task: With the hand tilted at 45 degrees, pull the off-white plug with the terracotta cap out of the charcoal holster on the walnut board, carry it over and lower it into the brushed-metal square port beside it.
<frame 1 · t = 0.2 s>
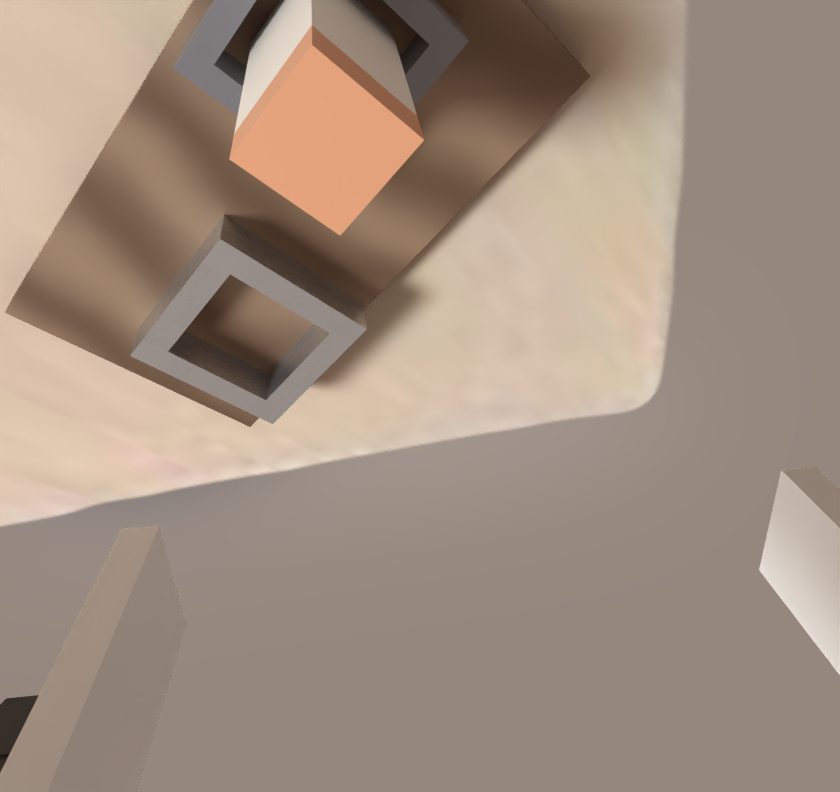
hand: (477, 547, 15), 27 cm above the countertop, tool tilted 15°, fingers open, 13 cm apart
port: (253, 301, 42), resting on walnut board
holster: (321, 27, 32), resting on walnut board
plug: (321, 36, 31), point 1 cm above the countertop, touching walnut board
walnut board: (277, 189, 37), on the countertop
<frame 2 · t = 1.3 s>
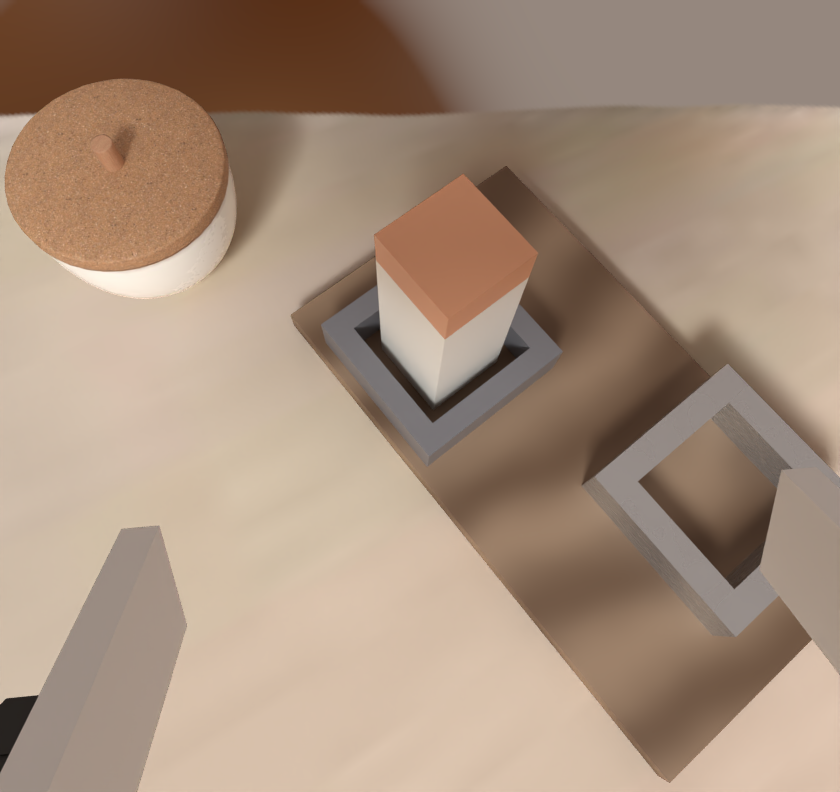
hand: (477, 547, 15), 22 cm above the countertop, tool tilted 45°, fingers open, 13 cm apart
port: (697, 504, 37), resting on walnut board
lidded jar: (166, 247, 41), on the countertop
holster: (437, 364, 39), resting on walnut board
plug: (439, 355, 38), point 1 cm above the countertop, touching walnut board
walnut board: (570, 439, 38), on the countertop
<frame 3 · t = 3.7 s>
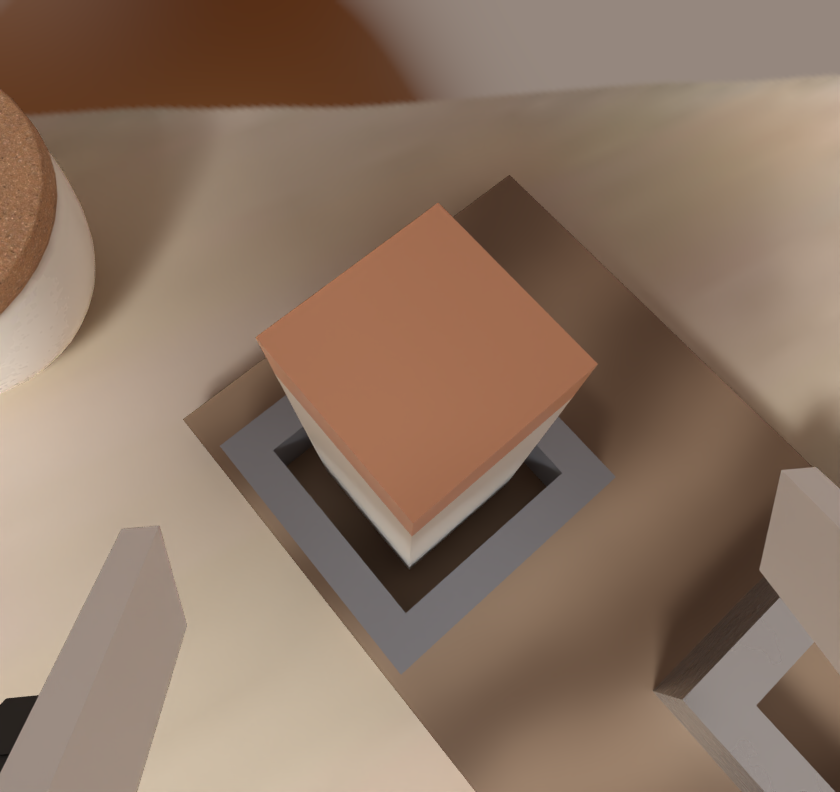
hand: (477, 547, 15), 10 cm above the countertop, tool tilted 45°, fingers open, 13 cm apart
port: (833, 702, 24), resting on walnut board
lidded jar: (5, 313, 28), on the countertop
holster: (415, 484, 26), resting on walnut board
plug: (416, 476, 24), point 1 cm above the countertop, touching walnut board
walnut board: (626, 600, 24), on the countertop
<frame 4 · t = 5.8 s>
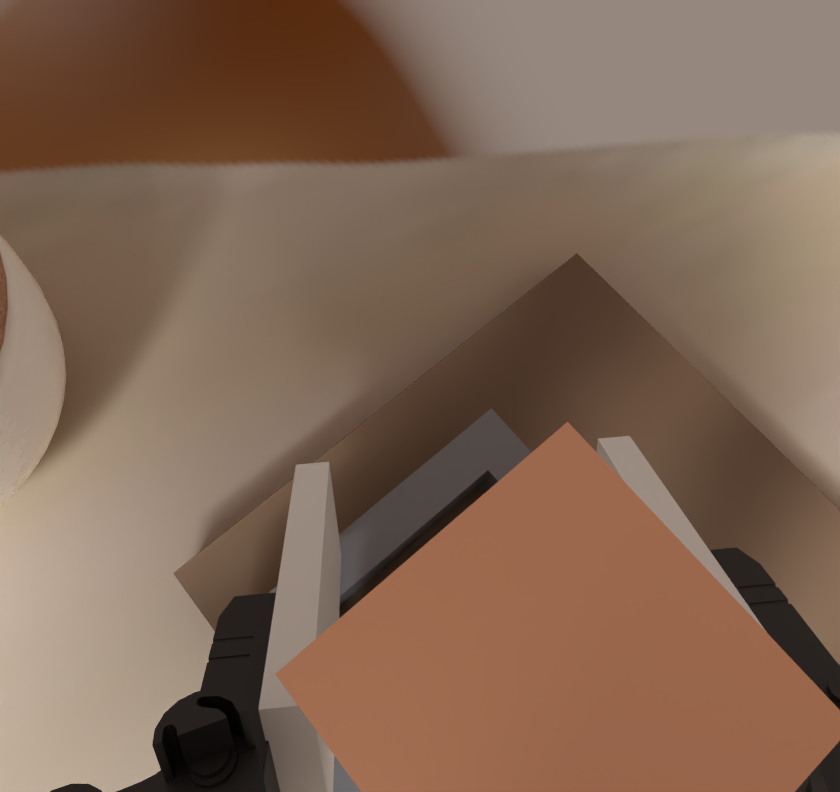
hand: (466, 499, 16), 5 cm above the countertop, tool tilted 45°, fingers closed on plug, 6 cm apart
holster: (464, 650, 20), resting on walnut board
plug: (469, 652, 19), point 2 cm above the countertop, touching gripper, walnut board
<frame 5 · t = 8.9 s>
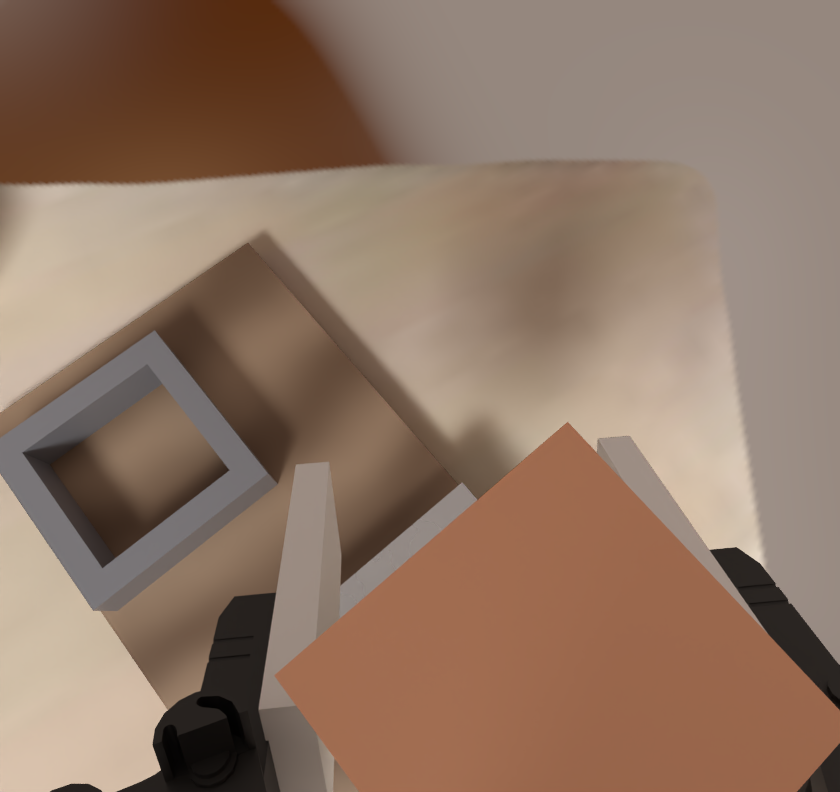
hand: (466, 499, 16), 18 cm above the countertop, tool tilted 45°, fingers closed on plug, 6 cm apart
port: (446, 640, 32), resting on walnut board
holster: (156, 479, 34), resting on walnut board
plug: (469, 653, 19), point 14 cm above the countertop, touching gripper
walnut board: (303, 565, 33), on the countertop
when the fingers open (6 cm above the countertop, at t = 11.9 s): plug stays where it is, resting on walnut board.
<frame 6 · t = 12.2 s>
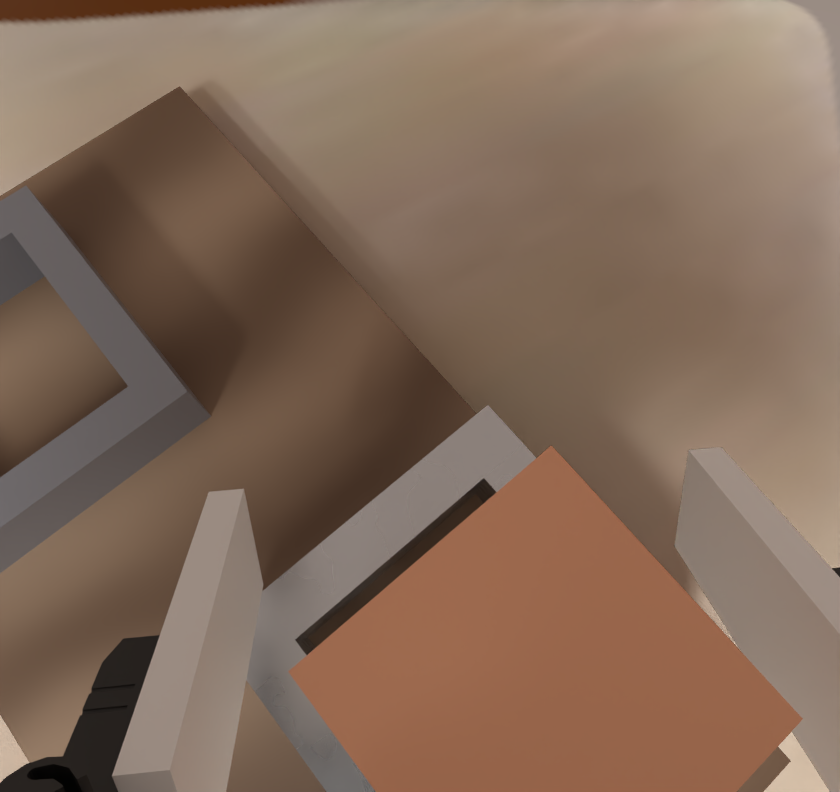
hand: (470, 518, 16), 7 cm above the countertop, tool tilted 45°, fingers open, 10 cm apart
port: (462, 649, 21), resting on walnut board
holster: (39, 413, 23), resting on walnut board
plug: (465, 653, 20), point 1 cm above the countertop, touching walnut board
walnut board: (250, 537, 22), on the countertop
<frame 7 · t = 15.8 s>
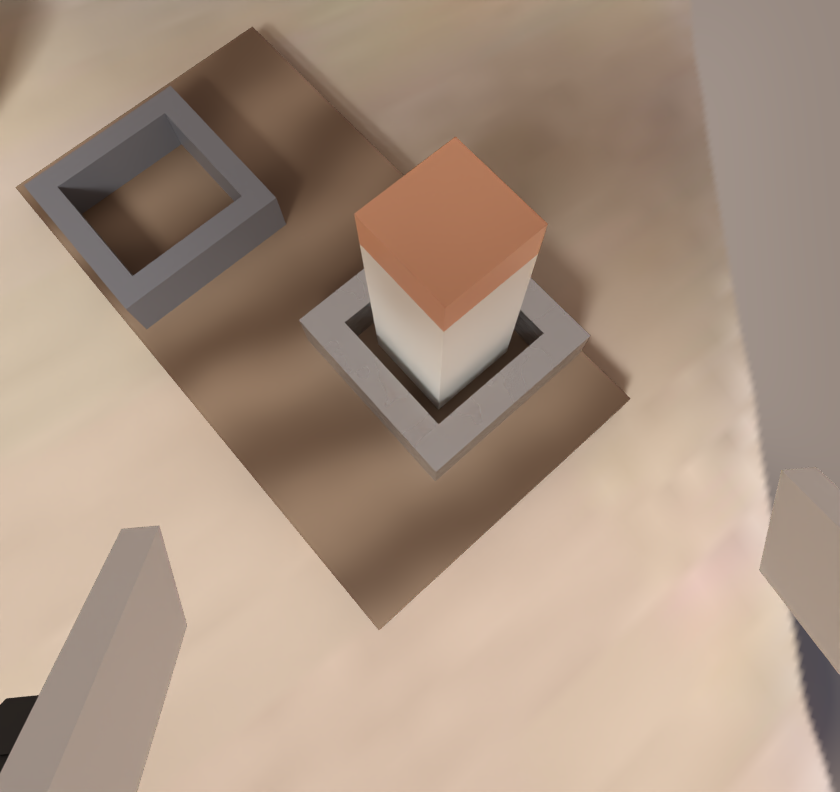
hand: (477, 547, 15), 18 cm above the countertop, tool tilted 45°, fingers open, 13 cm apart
port: (441, 357, 36), resting on walnut board
holster: (177, 233, 38), resting on walnut board
plug: (442, 347, 34), point 1 cm above the countertop, touching walnut board
walnut board: (311, 299, 36), on the countertop
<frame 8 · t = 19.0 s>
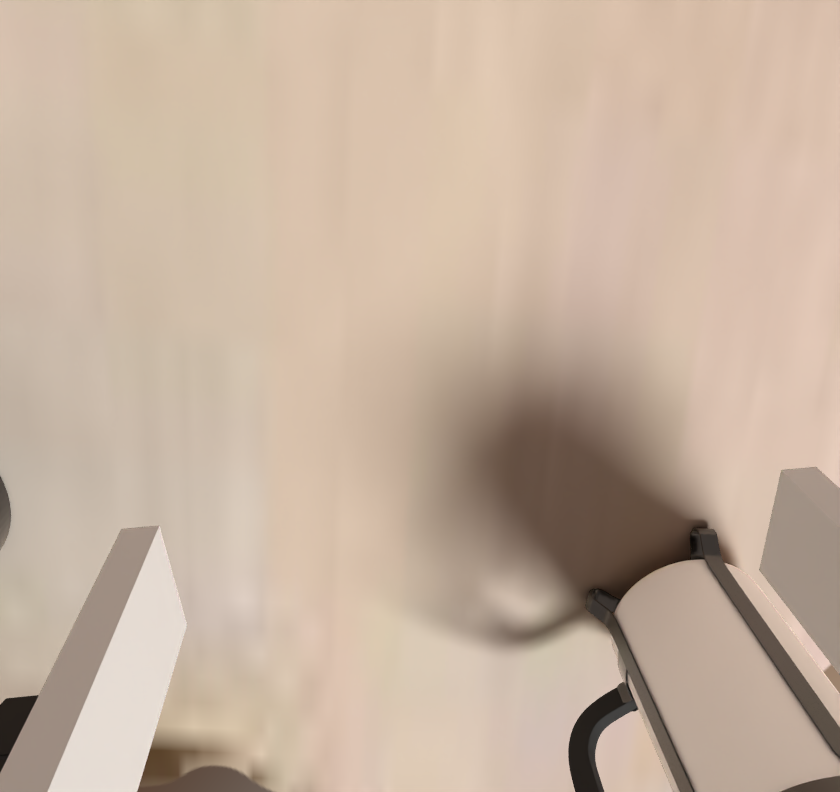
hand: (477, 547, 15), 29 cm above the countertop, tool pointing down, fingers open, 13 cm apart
coffee press: (660, 607, 56), on the countertop
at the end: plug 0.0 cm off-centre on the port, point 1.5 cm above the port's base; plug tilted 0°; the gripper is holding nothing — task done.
